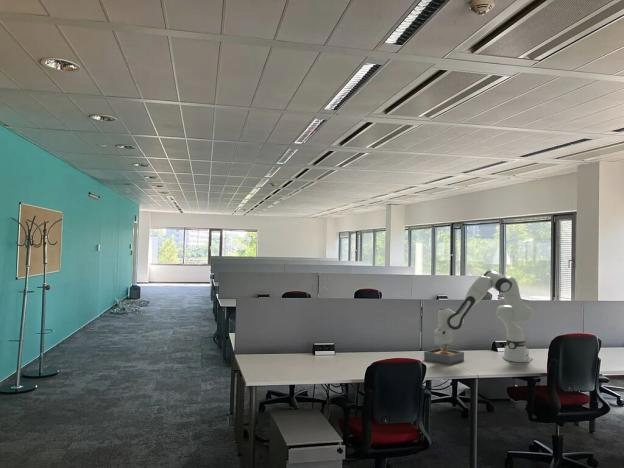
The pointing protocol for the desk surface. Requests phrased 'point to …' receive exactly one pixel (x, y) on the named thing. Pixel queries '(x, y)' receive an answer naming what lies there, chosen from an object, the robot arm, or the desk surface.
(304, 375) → the desk surface
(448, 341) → the robot arm
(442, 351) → the peg
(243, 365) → the desk surface
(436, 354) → the walled box
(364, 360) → the desk surface
